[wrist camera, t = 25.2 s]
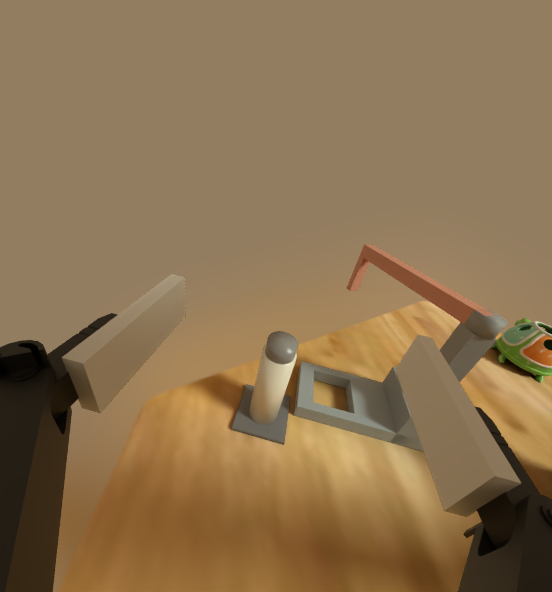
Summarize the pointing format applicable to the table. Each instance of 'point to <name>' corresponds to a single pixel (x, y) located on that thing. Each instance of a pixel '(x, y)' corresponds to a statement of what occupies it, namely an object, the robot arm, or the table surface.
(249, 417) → the mat
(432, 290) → the pink bent bar
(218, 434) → the table surface
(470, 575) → the robot arm
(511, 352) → the turtle holder
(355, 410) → the dock
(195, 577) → the table surface
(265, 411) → the bottle
